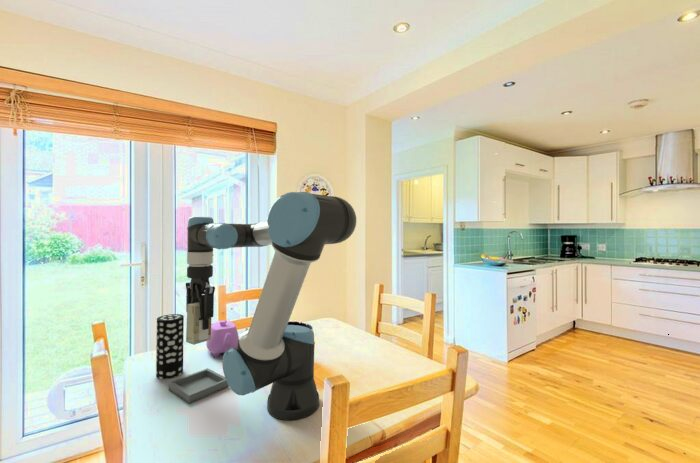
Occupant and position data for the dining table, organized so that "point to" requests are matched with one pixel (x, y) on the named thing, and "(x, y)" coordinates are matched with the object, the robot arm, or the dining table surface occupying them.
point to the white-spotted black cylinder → (169, 346)
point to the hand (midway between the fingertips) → (199, 337)
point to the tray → (198, 385)
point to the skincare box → (195, 324)
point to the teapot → (222, 337)
